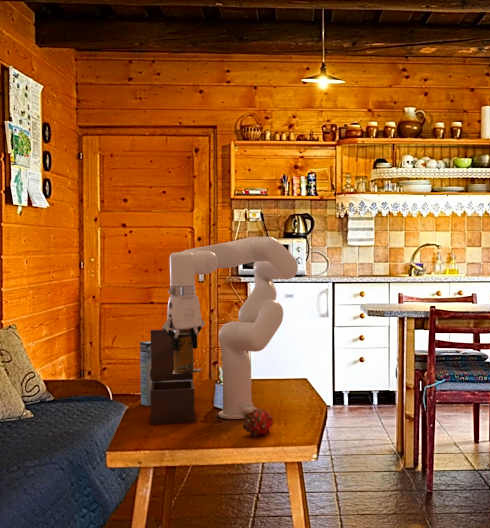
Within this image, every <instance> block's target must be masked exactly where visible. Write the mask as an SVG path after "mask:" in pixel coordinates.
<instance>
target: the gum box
mask: <svg viewBox="0 0 490 528" xmlns="http://www.w3.org/2000/svg"><path fill="white" fill-rule="evenodd" d="M139 350H140V351H139V357H140V364H139V365H140V404H141V405H142V406H145V407H151V392H150V391H151V384H152V383H153V382H174V381H193V382H194V379H193V380H172V381H152V375H151V340H149V341H140V342H139Z"/></svg>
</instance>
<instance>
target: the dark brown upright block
mask: <svg viewBox="0 0 490 528" xmlns="http://www.w3.org/2000/svg"><path fill="white" fill-rule="evenodd" d="M170 330H171V328H170ZM179 333H190V331H189V328H187V329H180V331H179ZM150 341H151V375H152V381H172V380H193V381H194V373H181V374H172V373H173V371H174V353H173V351H172V347H171V338H170V337H169V335H168V334H167V333H166V332H165V331H164V330H163V329H150Z"/></svg>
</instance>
